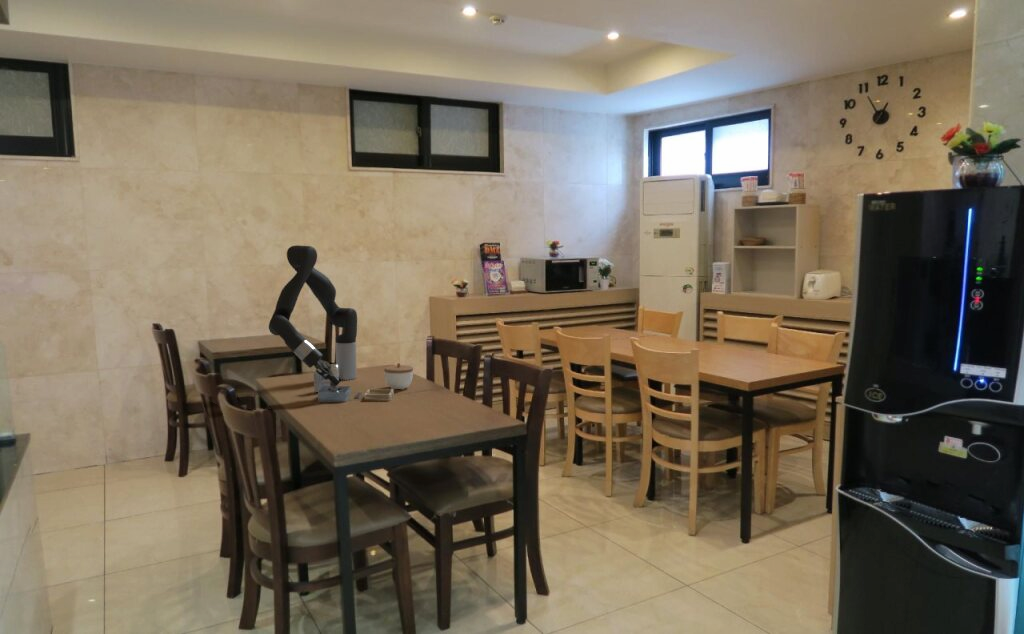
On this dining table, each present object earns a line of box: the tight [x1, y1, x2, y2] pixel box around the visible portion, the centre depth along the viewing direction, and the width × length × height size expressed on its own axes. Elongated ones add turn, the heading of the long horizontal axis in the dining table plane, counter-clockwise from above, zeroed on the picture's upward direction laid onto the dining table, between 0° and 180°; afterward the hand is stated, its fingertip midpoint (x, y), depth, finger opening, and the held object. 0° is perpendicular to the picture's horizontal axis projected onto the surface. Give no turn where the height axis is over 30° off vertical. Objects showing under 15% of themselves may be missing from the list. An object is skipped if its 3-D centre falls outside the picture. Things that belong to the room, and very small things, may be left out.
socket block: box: [317, 385, 352, 403], centre depth 276 cm, size 11×11×4 cm
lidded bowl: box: [383, 362, 414, 390], centre depth 297 cm, size 13×13×11 cm
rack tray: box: [363, 388, 395, 402], centre depth 278 cm, size 10×10×2 cm
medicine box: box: [313, 371, 330, 393], centre depth 290 cm, size 8×4×9 cm, turn 143°
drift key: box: [354, 392, 363, 399], centre depth 281 cm, size 7×2×1 cm, turn 3°
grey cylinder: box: [329, 363, 339, 391], centre depth 276 cm, size 4×4×14 cm
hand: (339, 382), depth 276 cm, fingers closed on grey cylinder, 3 cm apart
